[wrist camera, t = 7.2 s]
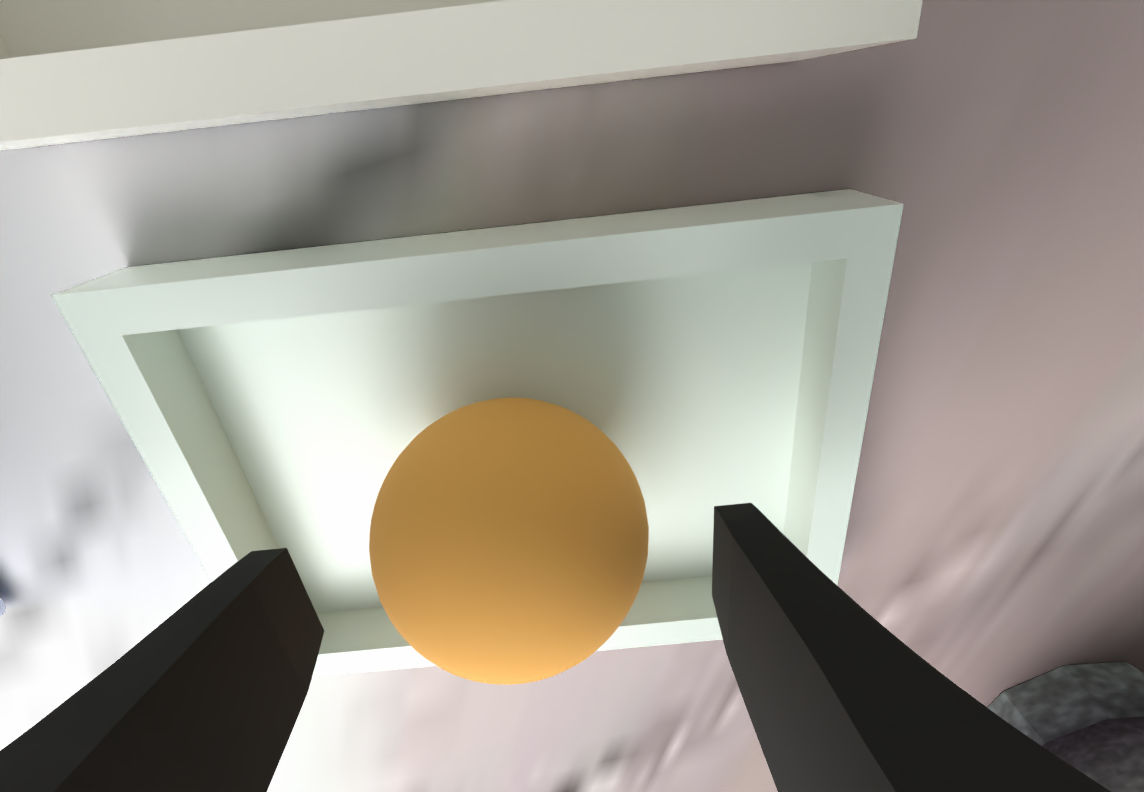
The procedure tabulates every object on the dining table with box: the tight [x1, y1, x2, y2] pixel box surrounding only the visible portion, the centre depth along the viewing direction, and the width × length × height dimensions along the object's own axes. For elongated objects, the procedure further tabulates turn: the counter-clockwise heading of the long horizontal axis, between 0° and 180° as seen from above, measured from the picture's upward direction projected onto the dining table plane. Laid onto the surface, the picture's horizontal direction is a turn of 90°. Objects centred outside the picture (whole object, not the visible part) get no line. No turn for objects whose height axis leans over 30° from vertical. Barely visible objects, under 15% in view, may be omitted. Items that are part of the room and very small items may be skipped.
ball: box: [369, 397, 649, 684], centre depth 10 cm, size 5×5×5 cm
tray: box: [51, 189, 904, 677], centre depth 12 cm, size 14×10×2 cm
